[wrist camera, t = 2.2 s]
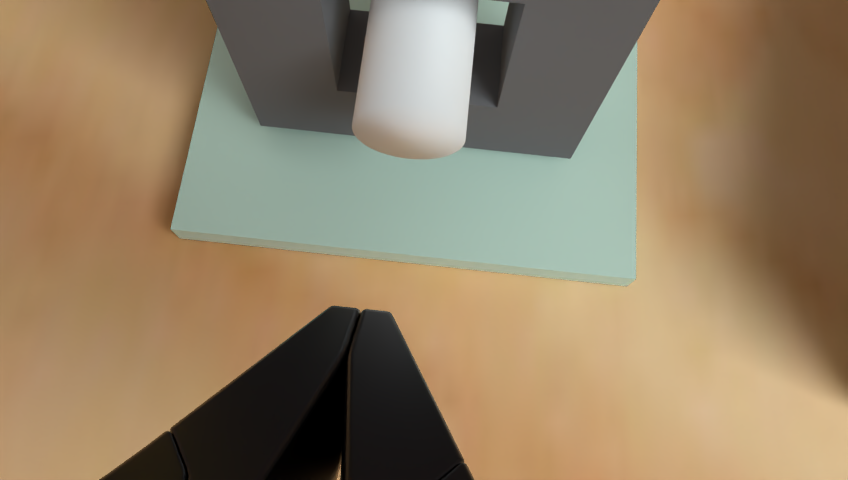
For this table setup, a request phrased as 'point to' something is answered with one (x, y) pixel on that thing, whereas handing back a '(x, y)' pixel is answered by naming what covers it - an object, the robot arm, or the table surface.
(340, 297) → the table surface
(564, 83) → the grey arch frame
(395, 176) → the pipe rig
